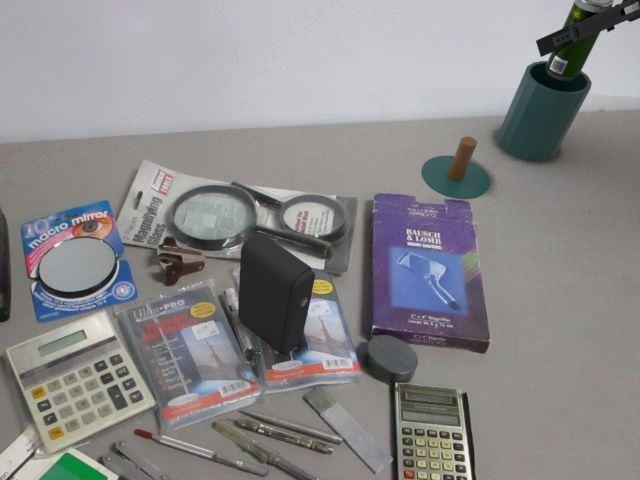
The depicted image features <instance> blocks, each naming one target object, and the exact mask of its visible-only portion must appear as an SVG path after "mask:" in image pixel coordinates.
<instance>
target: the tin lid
mask: <svg viewBox="0 0 640 480" xmlns="http://www.w3.org/2000/svg"><path fill="white" fill-rule="evenodd" d="M477 145H478V141H477V139H475V138H474V137H471V136H463V137H461V138H460V141H459V144H458V147H457V149H456V152H455V154H454V155H438V156H437V155H436V156H434V157H432V158H431V157H430V158H429V159H428V160H427V161H425V162H424V163H423V165H422V167H421V177H422V179H423V181H424V183H425V184H426V185H427V186H428V187H429V188H430V189H431V190H433V191H435V192H437V193H438V194H441V195H443V196H445V197H448V198H451V199H459V200H470V199H475V198H476V199H477V198H478V197H481V196H483V195H485V194H486V192H487V191H488V190H489V187H490V177H489V175H488V173H487V172H486V171H485V170H484V169H483V168H482V167H481V166H480V165H479V164H477V163H475V162H474V161H472V158H473V155H474V154H475V153H474V152H475V150H476V148H477Z"/></svg>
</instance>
